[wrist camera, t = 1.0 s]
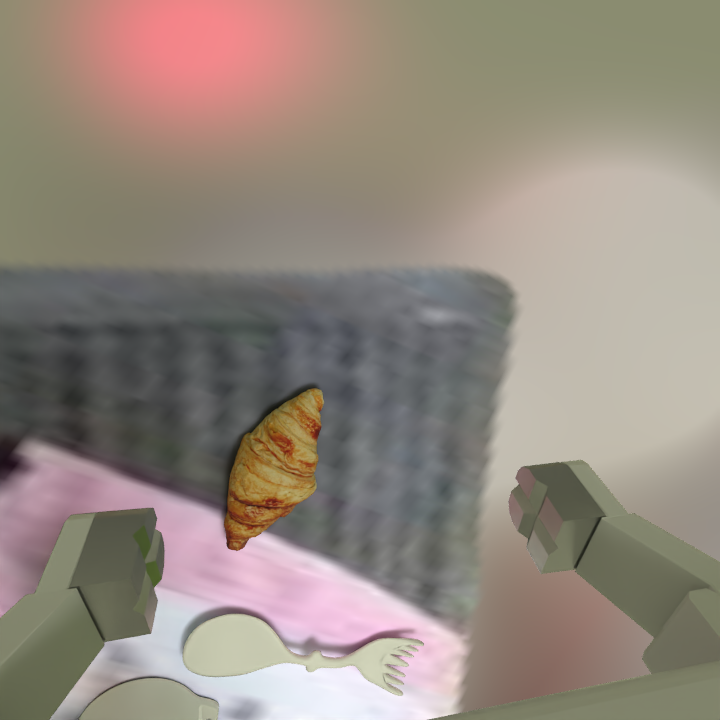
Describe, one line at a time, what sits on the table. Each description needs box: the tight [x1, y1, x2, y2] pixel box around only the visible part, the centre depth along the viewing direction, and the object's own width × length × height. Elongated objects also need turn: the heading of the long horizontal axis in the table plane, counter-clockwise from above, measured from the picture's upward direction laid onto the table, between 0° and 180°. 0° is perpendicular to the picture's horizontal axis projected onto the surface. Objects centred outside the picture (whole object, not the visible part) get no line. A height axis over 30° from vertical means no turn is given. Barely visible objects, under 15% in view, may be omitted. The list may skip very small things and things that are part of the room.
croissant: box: [224, 388, 324, 551], centre depth 53 cm, size 21×10×8 cm
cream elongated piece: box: [183, 614, 424, 696], centre depth 61 cm, size 9×32×3 cm, turn 67°
